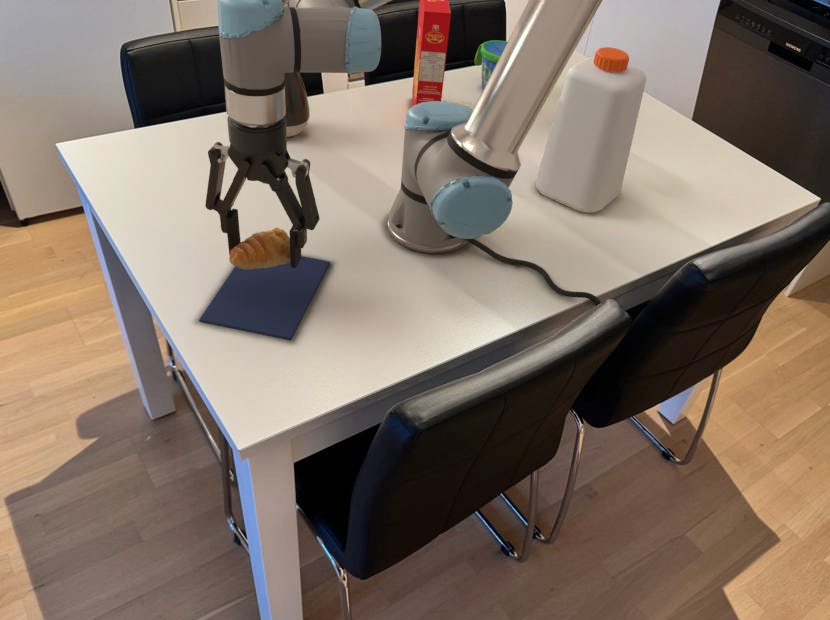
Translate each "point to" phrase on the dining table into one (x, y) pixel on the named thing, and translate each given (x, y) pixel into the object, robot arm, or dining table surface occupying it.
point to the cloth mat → (266, 298)
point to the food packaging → (431, 50)
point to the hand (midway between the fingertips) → (265, 256)
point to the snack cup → (489, 57)
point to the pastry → (262, 250)
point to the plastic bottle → (592, 132)
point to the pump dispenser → (295, 104)
